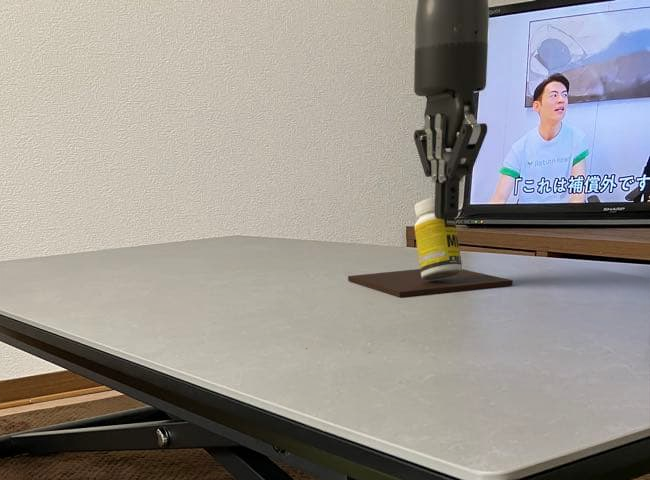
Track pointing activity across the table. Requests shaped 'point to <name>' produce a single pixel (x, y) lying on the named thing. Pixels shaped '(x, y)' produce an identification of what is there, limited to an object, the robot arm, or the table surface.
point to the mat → (427, 282)
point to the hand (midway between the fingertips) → (446, 218)
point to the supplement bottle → (436, 243)
